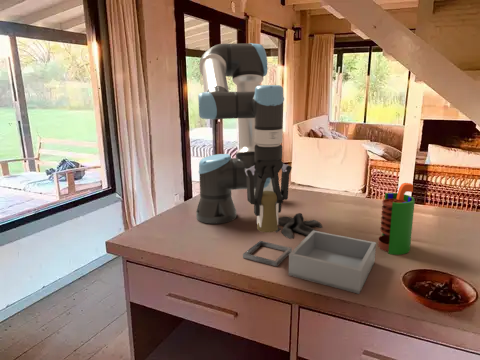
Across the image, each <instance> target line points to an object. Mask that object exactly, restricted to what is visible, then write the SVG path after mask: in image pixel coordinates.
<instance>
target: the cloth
mask: <svg viewBox="0 0 480 360" xmlns="http://www.w3.org/2000/svg"><path fill="white" fill-rule="evenodd" d="M278 226H281V227H282V228H281V227H278V230H277V231H275V233H279V232H280V231H281V230H282V231H281V234H282V235H283V236H284V237H285V238H287V239H290V240H293V239H294V238H295V235H294V233H299V234H301V235H303V236H305V238H306V237H307V236H308V235H309V234H310V233H311V232H312V231H313V230H314V231H318V230H317V229H315V228H318V229H323V225H322V224H321V222H319V221H318V220H316V219H311V220H305V219H304V216H303V214H302V213H301V212H298V213H296V214H295V215H294V216H293V217H291V216H286V215H285V216H281V217H278Z"/></svg>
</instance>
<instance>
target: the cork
mask: <svg viewBox="0 0 480 360" xmlns="http://www.w3.org/2000/svg"><path fill="white" fill-rule="evenodd" d="M276 201H277V195H276V193H275V192H273V191H263V194H262V199H261V204H262V205H263V219H262V226H261V228H260V225H259V223H258V225H257V226H256V229H257V230H258V231H259V232H262V233H274V232H275V231H277V230H278V228H279V227H278V226H279V225H277V217H276V208H275V203H276ZM275 233H276V232H275Z"/></svg>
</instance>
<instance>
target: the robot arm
mask: <svg viewBox="0 0 480 360" xmlns="http://www.w3.org/2000/svg"><path fill="white" fill-rule="evenodd" d="M198 67H199V72H200V74H201V75H202V81H203V92H200V93H198V95H197V96H198V116H199V118H200V119H202V120H211V121H213V120H224V119H225V120H226V119H227V120H228V119H230V120H231V119H232V120H233V119H238V121H237V122H238V138H239V141H238V142H239V149H238V150H237V152H235V158H234V157H232V156H231V155H230V154H229V153H217V154H212V155H208V156H205V157H203V158H202V159H200V160H199V162H198V175H199V196H200V197H199V201H198V204H197V208H196V212H195V213H196V220H197V221H199V222H201V223H205V224H210V225H212V224H213V225H214V224H215V225H216V224H217V225H218V224H225V223H229V222H232V221H234V220H235V219H236V218H237V209H236V206H235V203H234V200H233V197H232V191H233V190H235V191H237V190H246V195H247V199H246V200H247V201H248V203H250V205H253V213H254V215H255V216H256V224H257V225H258V223H259V225H260V228H261V226H262V219H263V205H262V204H261V199H262V194H263V189H264V188H266V187H267V186H268V185H269V183H270V180H271V182H272V187H273V192H275V193H276V195H277V201H276V203H275V208H276V217H277V225H278V218H279V213H281V212H282V204H283V203H284V201H285V200H286V201H287V200H288V198H289V184H290V175H291V171H292V168H293V167H292V166H291V165H289V164H287V163H286V164H285V163H284V162H283V159H282V158H283V145H282V143H283V139H284V138H283V131H284V130H283V128H284V127H283V126H284V124H283V123H284V101H285V97H284V88H283V87H284V86H282V85H277V84H276V85H275V84H266V85H265V84H262V85H261V83H262V82H263V81H264V77H266V76H267V74H268V57H267V53H266V50H265V48H264V46H263V45H262V44H261V43H252V42H249V43H219V44H215V45H214V46H212V47H210V48H208V49H207V50H206V51H205V52H204V53H203V54H202V55H201V58H200V60H199V66H198ZM227 77H232V83H233V84H235V86H236V91H230V90H229V85H228V81H227ZM280 172H281V178H280V177H279V173H280ZM279 178H280V179H281V180H280V179H279ZM254 189H256V190H255V195H254ZM278 226H279V225H278Z"/></svg>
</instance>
